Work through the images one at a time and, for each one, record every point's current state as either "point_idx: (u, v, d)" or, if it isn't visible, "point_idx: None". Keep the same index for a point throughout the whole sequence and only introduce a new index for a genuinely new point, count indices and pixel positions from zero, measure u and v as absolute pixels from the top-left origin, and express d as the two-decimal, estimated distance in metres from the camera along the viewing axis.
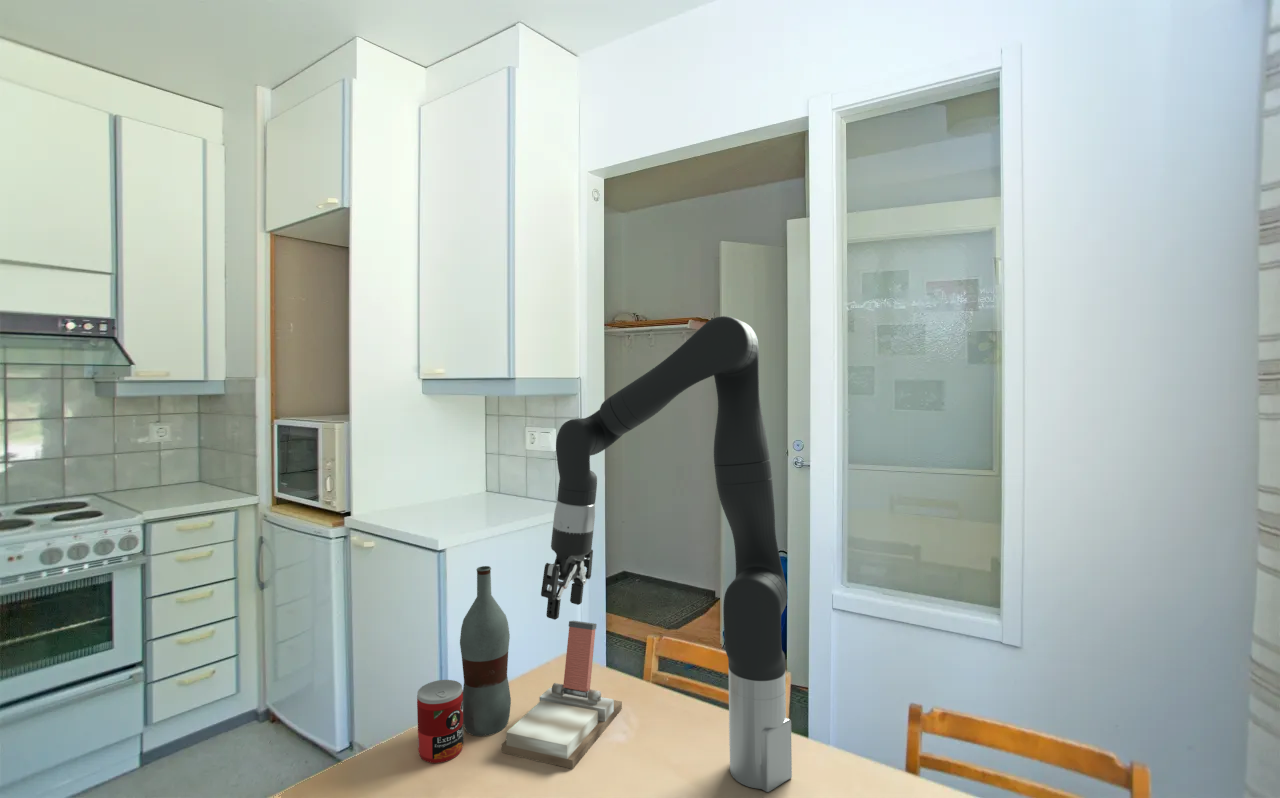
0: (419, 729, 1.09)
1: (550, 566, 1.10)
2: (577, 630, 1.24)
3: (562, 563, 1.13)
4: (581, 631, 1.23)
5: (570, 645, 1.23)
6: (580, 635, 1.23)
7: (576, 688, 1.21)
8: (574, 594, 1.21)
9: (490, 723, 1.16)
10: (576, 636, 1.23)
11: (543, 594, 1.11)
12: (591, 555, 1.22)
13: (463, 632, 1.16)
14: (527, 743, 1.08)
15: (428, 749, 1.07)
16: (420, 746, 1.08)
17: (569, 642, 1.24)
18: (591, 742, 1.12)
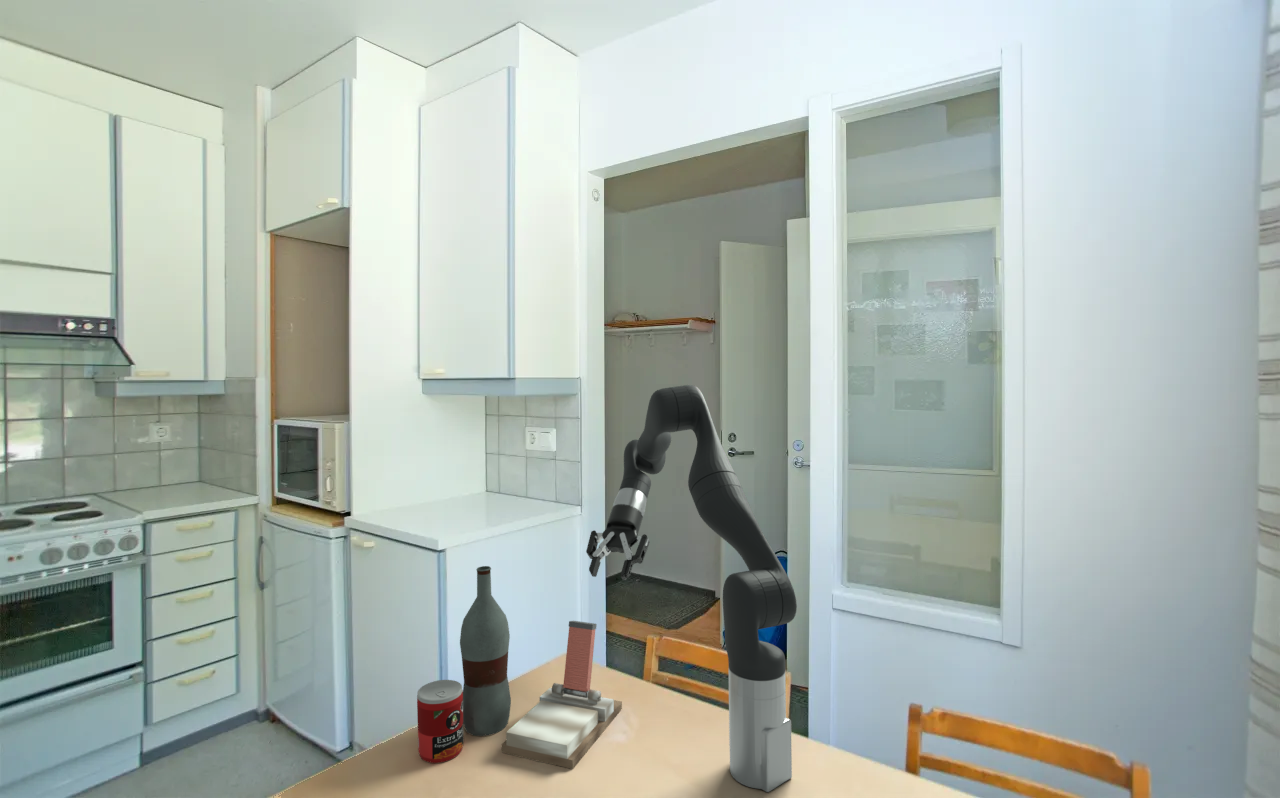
0: (419, 729, 1.09)
1: None
2: (577, 630, 1.24)
3: None
4: (581, 631, 1.23)
5: (570, 645, 1.23)
6: (580, 635, 1.23)
7: (576, 688, 1.21)
8: None
9: (490, 723, 1.16)
10: (576, 636, 1.23)
11: None
12: (644, 539, 1.39)
13: (463, 632, 1.16)
14: (527, 743, 1.08)
15: (428, 749, 1.07)
16: (420, 746, 1.08)
17: (569, 642, 1.24)
18: (591, 742, 1.12)
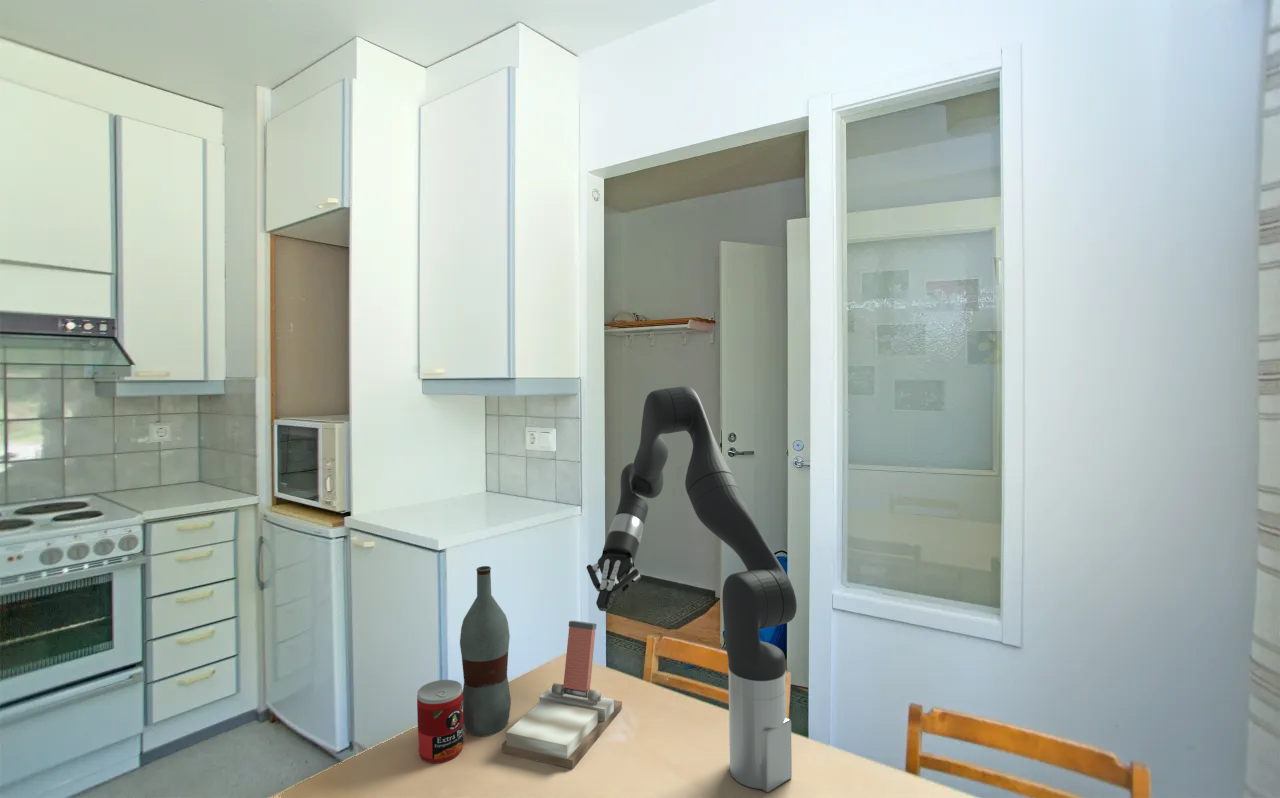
0: (419, 729, 1.09)
1: None
2: (577, 630, 1.24)
3: None
4: (581, 631, 1.23)
5: (570, 645, 1.23)
6: (580, 635, 1.23)
7: (576, 688, 1.21)
8: None
9: (490, 723, 1.16)
10: (576, 636, 1.23)
11: None
12: (633, 574, 1.35)
13: (463, 632, 1.16)
14: (527, 743, 1.08)
15: (428, 749, 1.07)
16: (420, 746, 1.08)
17: (569, 642, 1.24)
18: (591, 742, 1.12)
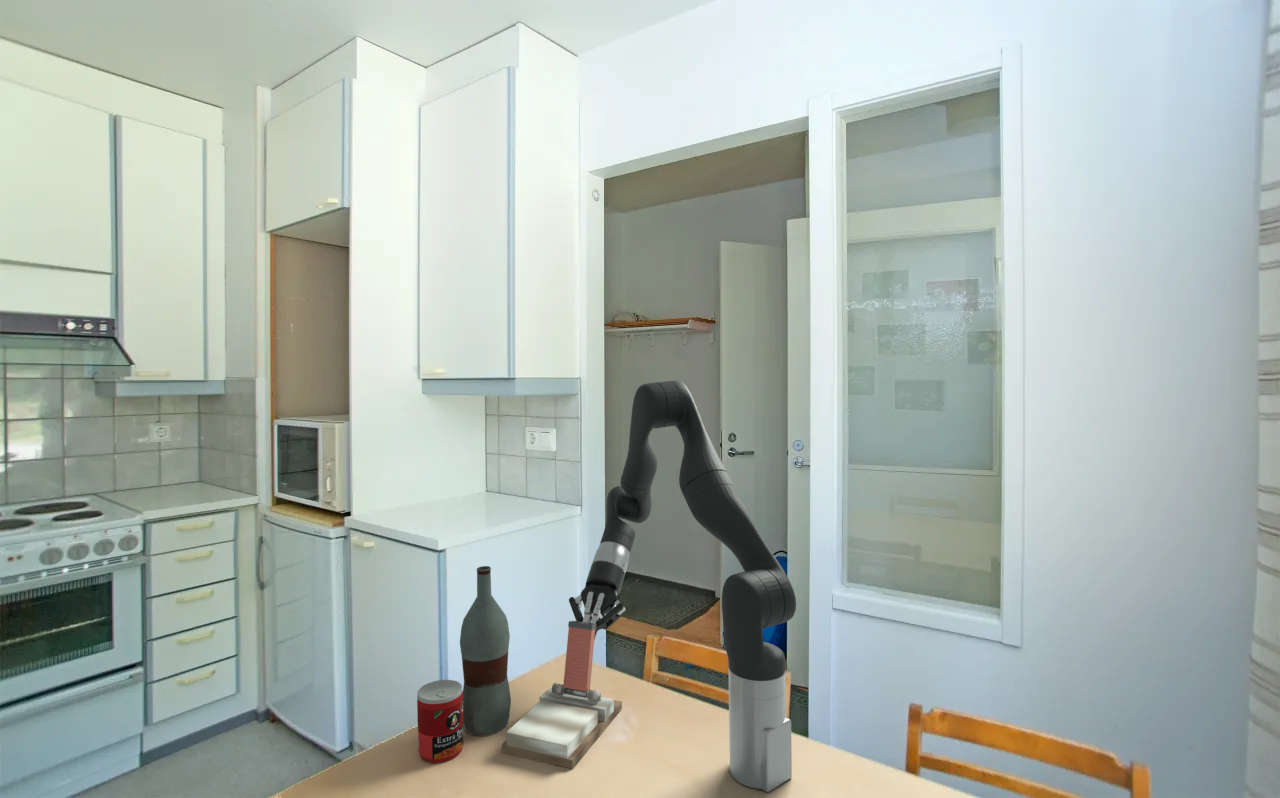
0: (419, 729, 1.09)
1: None
2: (577, 630, 1.24)
3: None
4: (581, 631, 1.23)
5: (570, 645, 1.23)
6: (580, 635, 1.23)
7: (576, 688, 1.21)
8: None
9: (490, 723, 1.16)
10: (576, 636, 1.23)
11: None
12: (617, 608, 1.27)
13: (463, 632, 1.16)
14: (527, 743, 1.08)
15: (428, 749, 1.07)
16: (420, 746, 1.08)
17: (569, 642, 1.24)
18: (591, 742, 1.12)
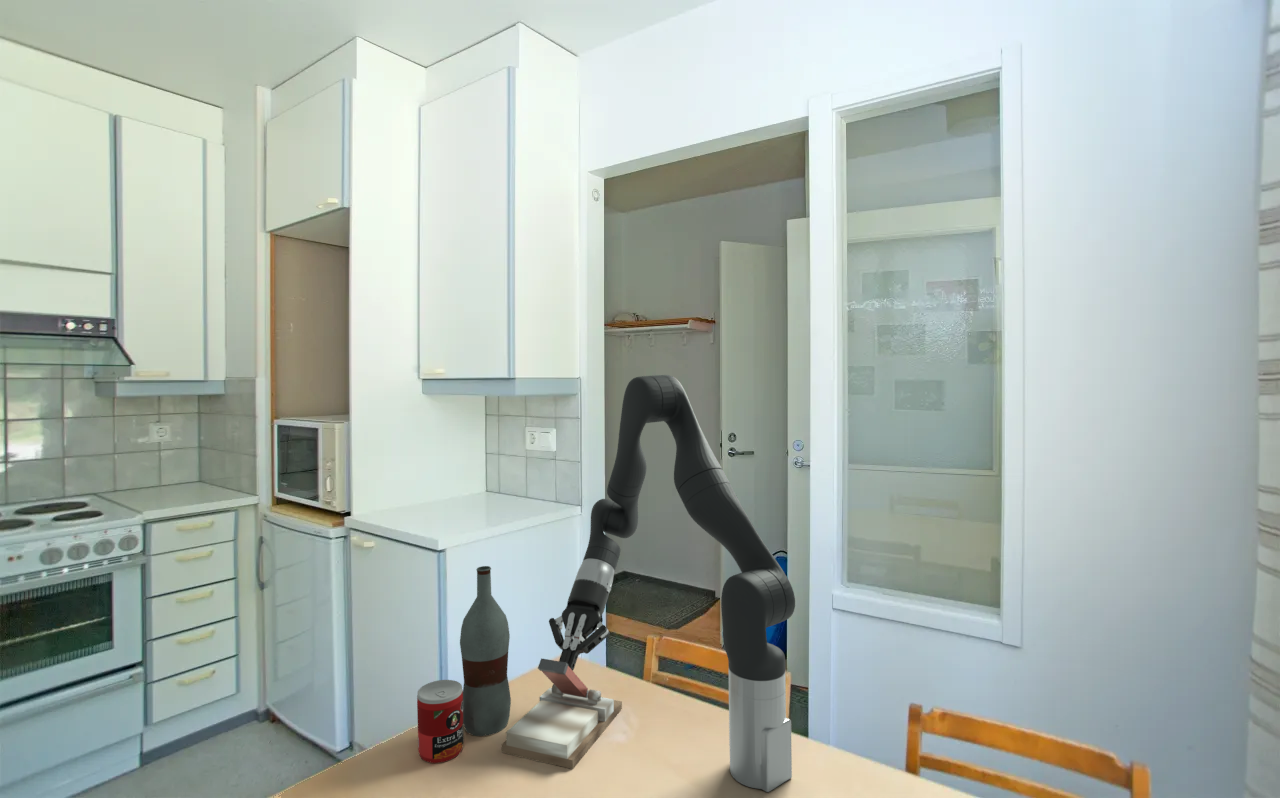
0: (419, 729, 1.09)
1: None
2: (550, 672, 1.14)
3: None
4: (555, 673, 1.13)
5: (550, 677, 1.16)
6: (555, 675, 1.14)
7: (575, 695, 1.20)
8: None
9: (490, 723, 1.16)
10: (552, 675, 1.15)
11: None
12: (600, 631, 1.19)
13: (463, 632, 1.16)
14: (527, 743, 1.08)
15: (428, 749, 1.07)
16: (420, 746, 1.08)
17: (548, 676, 1.16)
18: (591, 742, 1.12)
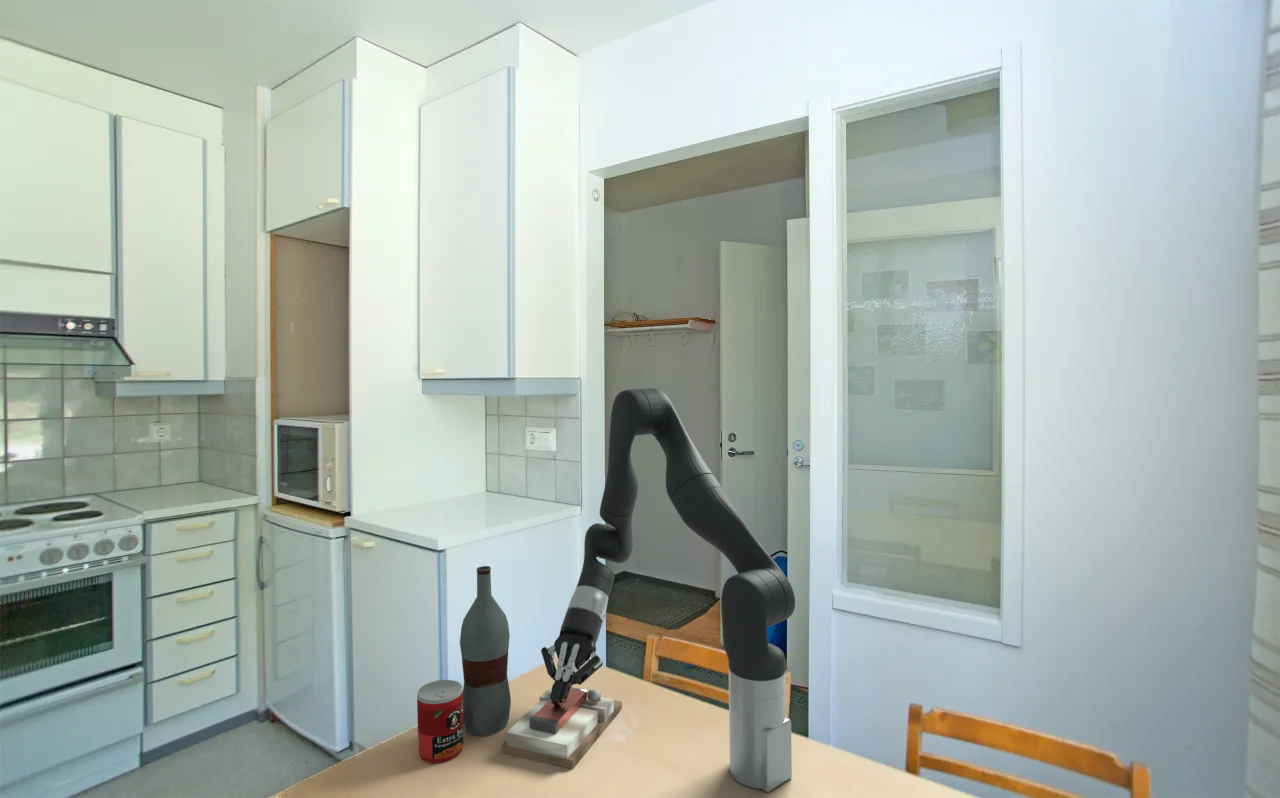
0: (419, 729, 1.09)
1: None
2: None
3: (554, 643, 1.22)
4: None
5: None
6: None
7: None
8: None
9: (490, 723, 1.16)
10: None
11: None
12: (593, 662, 1.17)
13: (463, 632, 1.16)
14: (527, 743, 1.08)
15: (428, 749, 1.07)
16: (420, 746, 1.08)
17: None
18: (591, 742, 1.12)
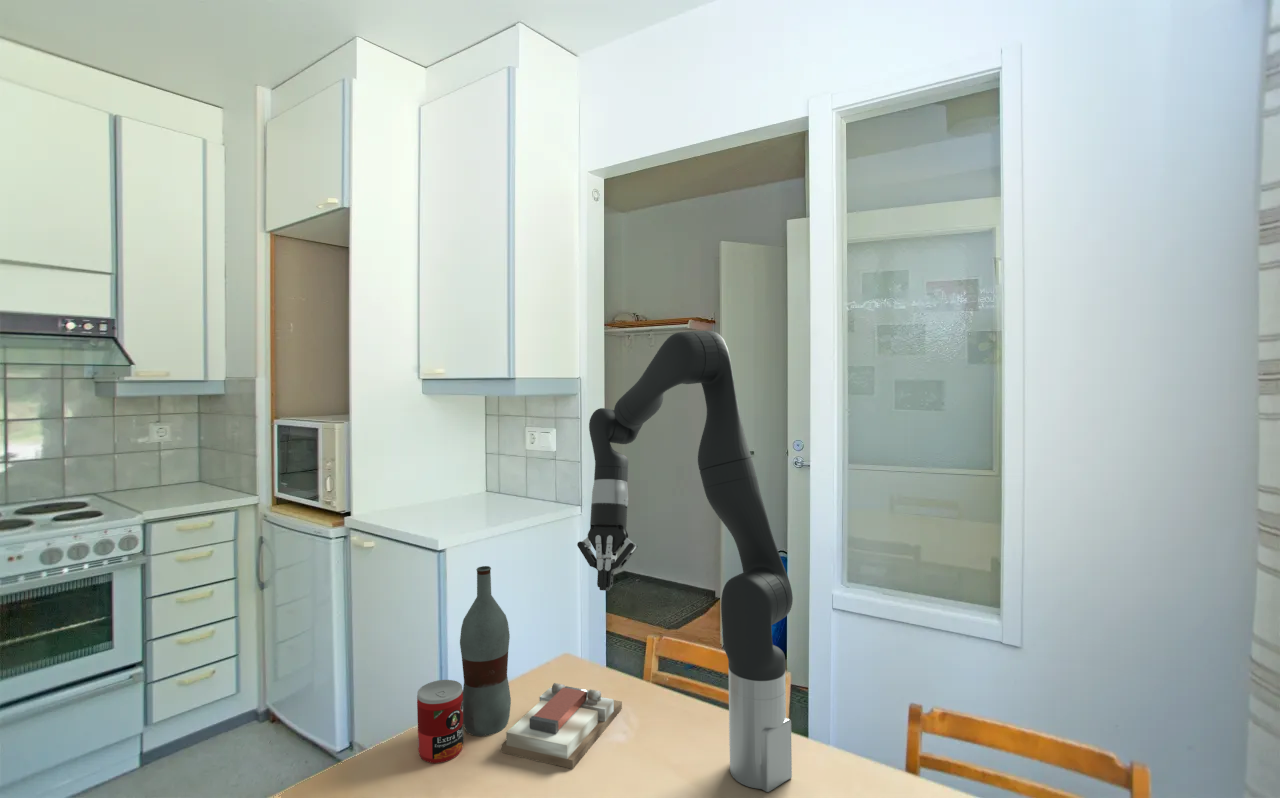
0: (419, 729, 1.09)
1: None
2: None
3: None
4: None
5: None
6: None
7: None
8: None
9: (490, 723, 1.16)
10: None
11: None
12: (629, 549, 1.25)
13: (463, 632, 1.16)
14: (527, 743, 1.08)
15: (428, 749, 1.07)
16: (420, 746, 1.08)
17: None
18: (591, 742, 1.12)
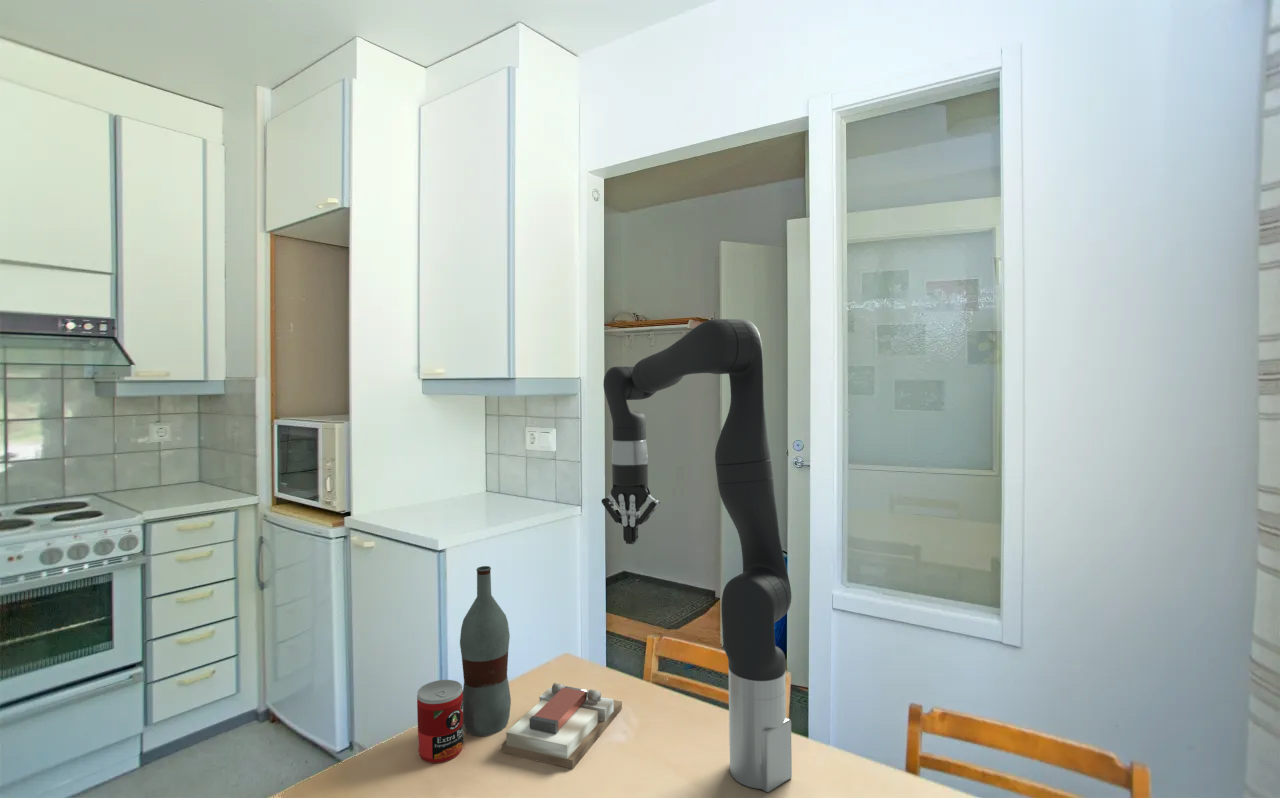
0: (419, 729, 1.09)
1: None
2: None
3: None
4: None
5: None
6: None
7: None
8: None
9: (490, 723, 1.16)
10: None
11: None
12: (652, 507, 1.29)
13: (463, 632, 1.16)
14: (527, 743, 1.08)
15: (428, 749, 1.07)
16: (420, 746, 1.08)
17: None
18: (591, 742, 1.12)
